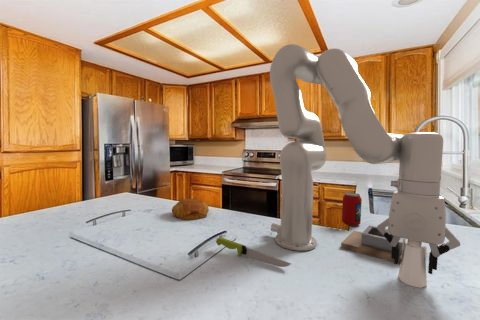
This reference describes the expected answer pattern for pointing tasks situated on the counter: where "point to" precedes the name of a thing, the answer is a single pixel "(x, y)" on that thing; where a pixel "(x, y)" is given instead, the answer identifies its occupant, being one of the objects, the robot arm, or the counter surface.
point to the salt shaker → (413, 264)
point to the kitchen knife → (251, 253)
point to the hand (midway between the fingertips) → (412, 266)
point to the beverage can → (351, 209)
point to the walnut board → (355, 245)
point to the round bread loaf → (190, 209)
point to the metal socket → (378, 240)
